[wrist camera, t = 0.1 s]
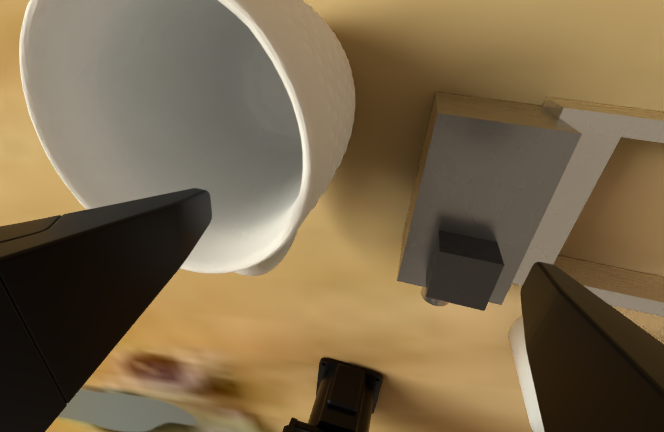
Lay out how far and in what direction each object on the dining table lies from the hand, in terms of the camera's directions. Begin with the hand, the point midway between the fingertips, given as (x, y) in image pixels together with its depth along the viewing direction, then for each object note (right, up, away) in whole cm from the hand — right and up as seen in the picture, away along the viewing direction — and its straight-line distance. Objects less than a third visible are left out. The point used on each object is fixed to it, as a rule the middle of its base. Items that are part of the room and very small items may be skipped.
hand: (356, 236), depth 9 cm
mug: (-3, +8, +14) cm, 16 cm away
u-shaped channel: (+13, +1, +13) cm, 18 cm away
